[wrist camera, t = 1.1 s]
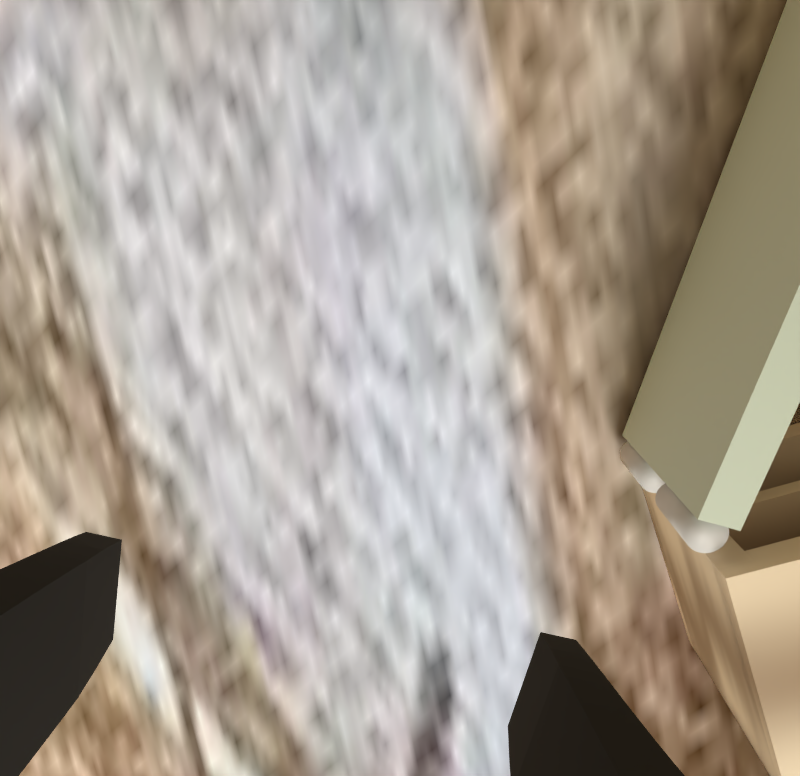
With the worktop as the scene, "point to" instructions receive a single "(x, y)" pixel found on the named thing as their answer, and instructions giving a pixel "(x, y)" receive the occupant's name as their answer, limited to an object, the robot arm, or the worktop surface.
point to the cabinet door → (731, 325)
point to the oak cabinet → (750, 610)
